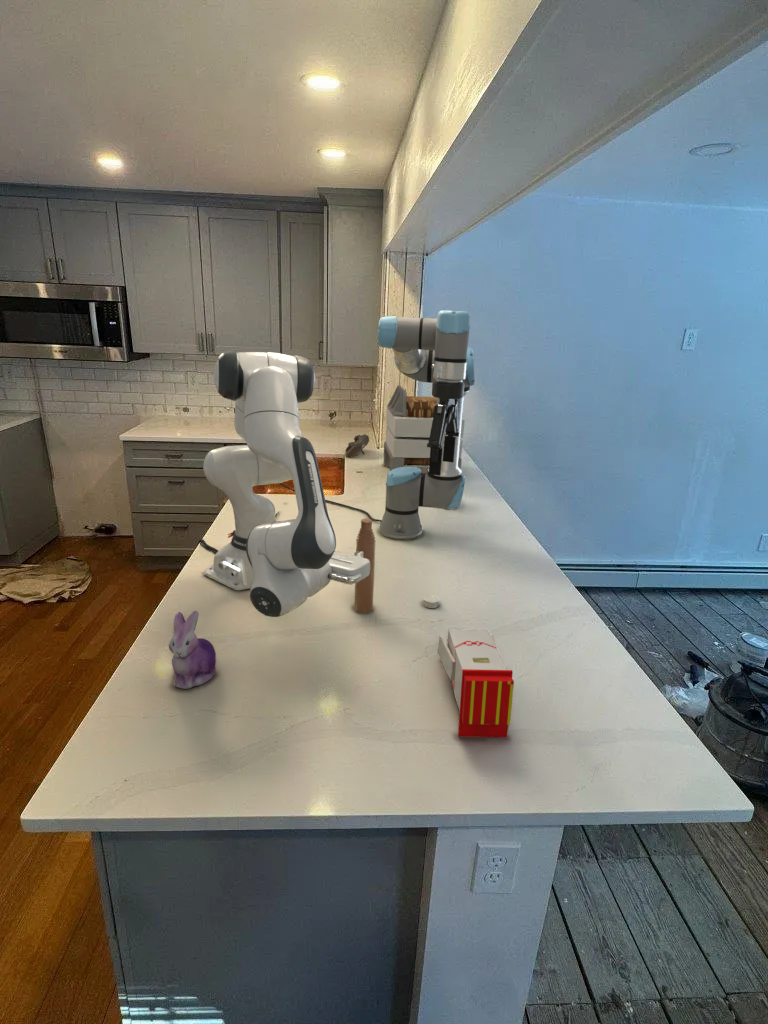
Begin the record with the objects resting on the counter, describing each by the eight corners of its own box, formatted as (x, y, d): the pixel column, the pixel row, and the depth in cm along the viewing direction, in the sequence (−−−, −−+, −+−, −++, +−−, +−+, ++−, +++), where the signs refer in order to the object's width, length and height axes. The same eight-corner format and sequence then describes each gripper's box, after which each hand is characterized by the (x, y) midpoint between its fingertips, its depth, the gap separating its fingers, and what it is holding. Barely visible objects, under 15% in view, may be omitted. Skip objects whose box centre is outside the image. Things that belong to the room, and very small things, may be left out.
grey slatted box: (382, 463, 289) (386, 382, 275) (445, 464, 293) (451, 384, 279) (390, 482, 257) (394, 392, 243) (460, 483, 261) (468, 394, 247)
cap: (438, 608, 151) (438, 603, 150) (423, 607, 151) (423, 602, 151) (438, 601, 155) (438, 596, 154) (423, 600, 155) (423, 594, 154)
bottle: (359, 614, 146) (362, 524, 138) (351, 605, 150) (353, 518, 142) (375, 610, 149) (379, 522, 140) (367, 602, 153) (370, 515, 144)
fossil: (345, 440, 315) (366, 425, 310) (356, 453, 318) (377, 439, 313) (338, 454, 296) (361, 438, 291) (350, 468, 298) (372, 452, 293)
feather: (286, 506, 225) (288, 502, 225) (268, 529, 199) (271, 525, 198) (282, 503, 225) (284, 499, 225) (264, 526, 199) (267, 522, 198)
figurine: (175, 696, 113) (169, 631, 108) (168, 668, 121) (161, 606, 116) (223, 684, 117) (219, 621, 112) (213, 658, 126) (208, 598, 120)
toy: (488, 613, 130) (523, 677, 101) (484, 667, 133) (517, 744, 104) (435, 612, 130) (455, 676, 101) (432, 666, 133) (451, 743, 103)
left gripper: (353, 569, 116) (383, 546, 127) (271, 548, 124) (306, 528, 136) (352, 597, 118) (382, 572, 129) (272, 574, 126) (306, 552, 138)
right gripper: (445, 374, 145) (439, 454, 152) (418, 384, 123) (412, 478, 130) (474, 376, 143) (467, 458, 150) (452, 387, 121) (444, 482, 128)
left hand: (343, 549), depth 133 cm, fingers open, 8 cm apart
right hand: (441, 467), depth 140 cm, fingers open, 13 cm apart
